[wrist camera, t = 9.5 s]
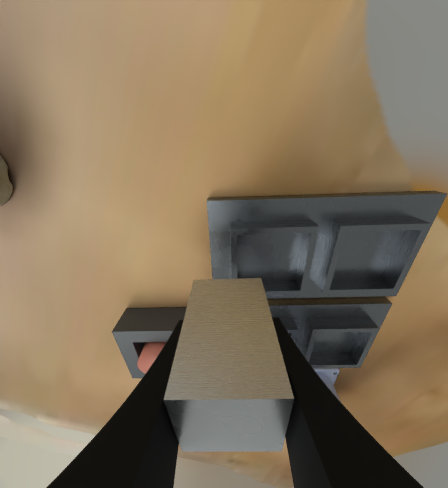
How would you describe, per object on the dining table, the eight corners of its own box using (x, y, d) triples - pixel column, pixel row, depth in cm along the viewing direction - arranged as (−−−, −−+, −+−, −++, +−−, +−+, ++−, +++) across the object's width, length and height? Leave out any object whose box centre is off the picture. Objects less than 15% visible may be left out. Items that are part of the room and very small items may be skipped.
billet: (258, 325, 13) (281, 451, 7) (200, 326, 13) (182, 451, 8) (261, 277, 11) (294, 399, 6) (193, 279, 11) (163, 399, 6)
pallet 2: (357, 355, 24) (370, 376, 22) (219, 356, 25) (218, 377, 23) (384, 296, 20) (404, 315, 18) (215, 299, 20) (213, 318, 18)
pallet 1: (388, 289, 19) (409, 307, 17) (214, 292, 20) (213, 311, 18) (434, 190, 15) (470, 198, 13) (208, 197, 15) (205, 206, 13)
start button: (184, 354, 22) (179, 377, 20) (150, 354, 22) (142, 377, 20) (179, 331, 20) (173, 353, 18) (142, 331, 20) (132, 354, 18)
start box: (203, 352, 24) (200, 377, 22) (142, 353, 25) (132, 378, 22) (197, 307, 21) (193, 330, 18) (126, 308, 21) (111, 331, 18)
